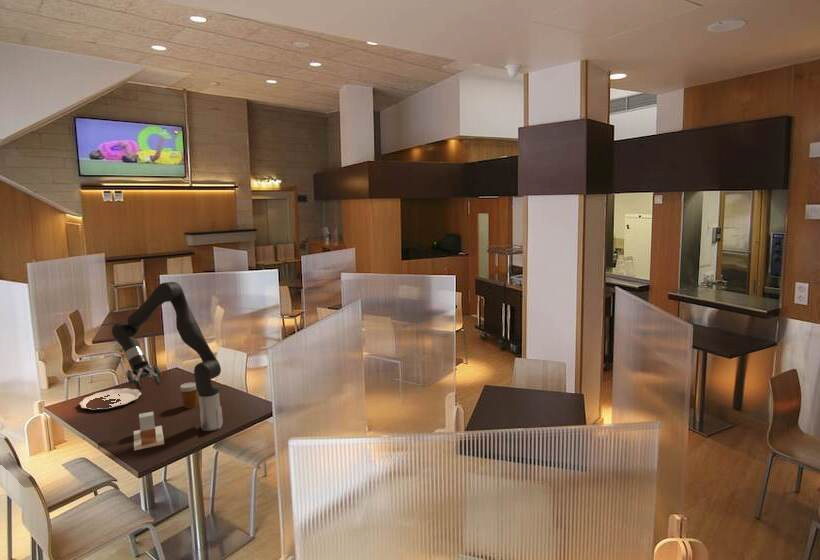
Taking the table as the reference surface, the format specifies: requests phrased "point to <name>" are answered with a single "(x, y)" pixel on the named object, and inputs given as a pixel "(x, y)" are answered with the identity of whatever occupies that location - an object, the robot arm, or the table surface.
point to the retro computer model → (146, 421)
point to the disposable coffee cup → (189, 394)
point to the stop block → (148, 436)
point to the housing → (158, 442)
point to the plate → (113, 397)
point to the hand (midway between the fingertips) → (149, 386)
